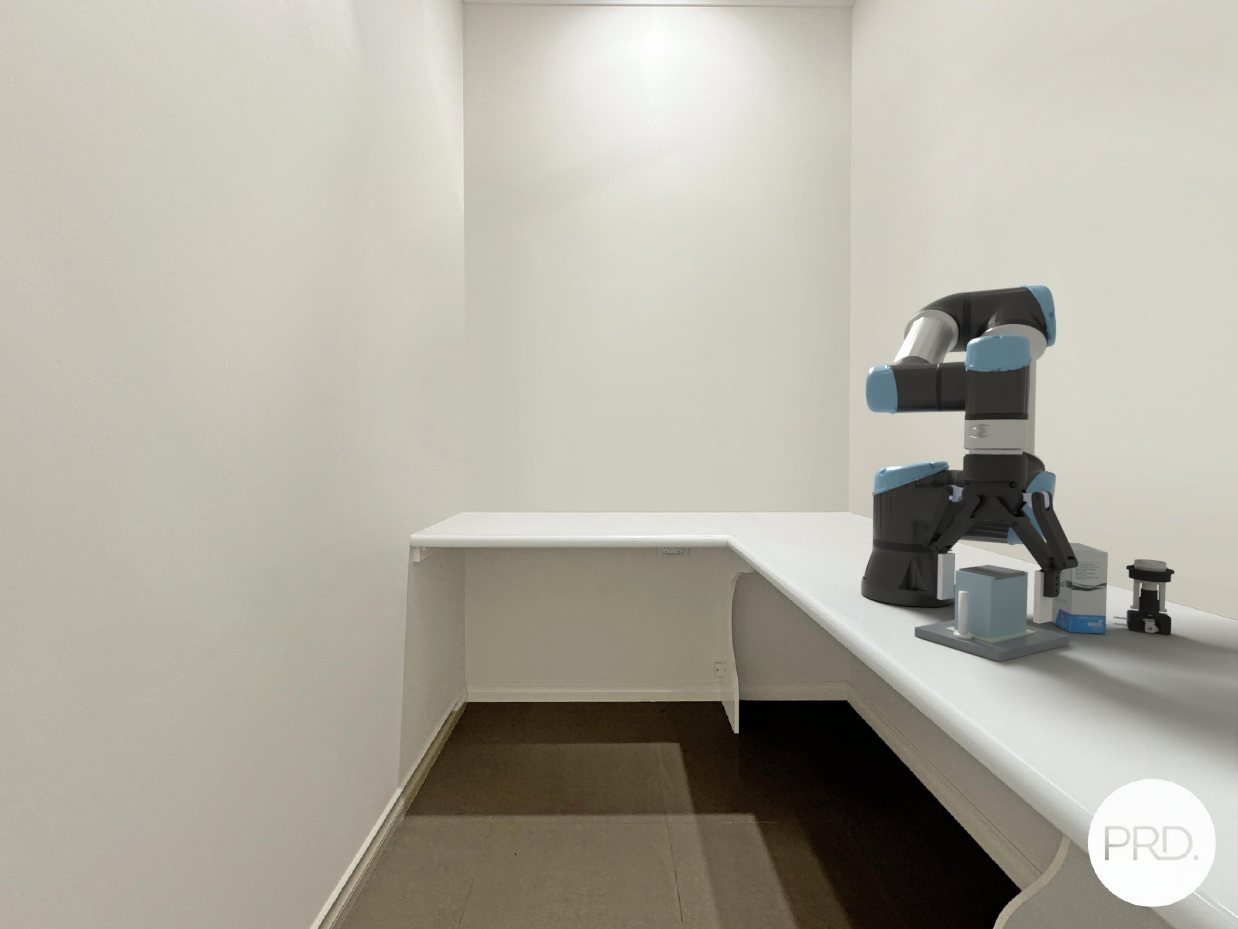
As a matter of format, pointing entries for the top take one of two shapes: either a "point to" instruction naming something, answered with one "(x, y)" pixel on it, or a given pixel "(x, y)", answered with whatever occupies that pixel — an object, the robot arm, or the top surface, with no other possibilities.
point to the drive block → (993, 600)
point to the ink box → (1083, 592)
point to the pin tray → (985, 647)
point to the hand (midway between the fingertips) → (990, 609)
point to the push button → (1148, 597)
